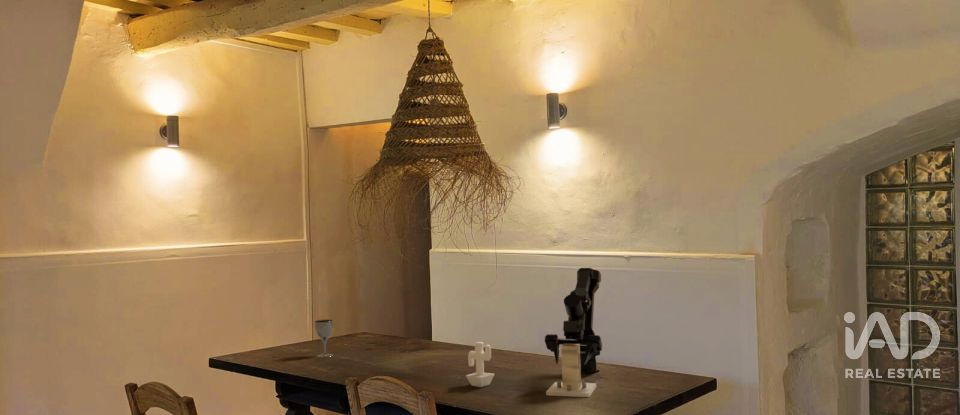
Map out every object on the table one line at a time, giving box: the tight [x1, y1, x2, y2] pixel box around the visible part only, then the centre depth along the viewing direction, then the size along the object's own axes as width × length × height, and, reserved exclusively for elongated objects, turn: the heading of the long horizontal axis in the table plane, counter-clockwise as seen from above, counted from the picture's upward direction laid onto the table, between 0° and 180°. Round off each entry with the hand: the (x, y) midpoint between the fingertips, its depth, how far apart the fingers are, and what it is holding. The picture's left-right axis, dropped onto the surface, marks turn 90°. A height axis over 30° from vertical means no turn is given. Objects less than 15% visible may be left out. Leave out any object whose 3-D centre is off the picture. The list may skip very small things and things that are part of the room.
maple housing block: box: [560, 344, 582, 390], centre depth 266 cm, size 5×5×14 cm
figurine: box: [465, 341, 495, 388], centre depth 279 cm, size 7×9×15 cm
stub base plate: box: [545, 381, 597, 398], centre depth 266 cm, size 14×14×3 cm
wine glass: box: [313, 319, 334, 358], centre depth 343 cm, size 8×8×15 cm
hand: (570, 363), depth 266 cm, fingers open, 9 cm apart
